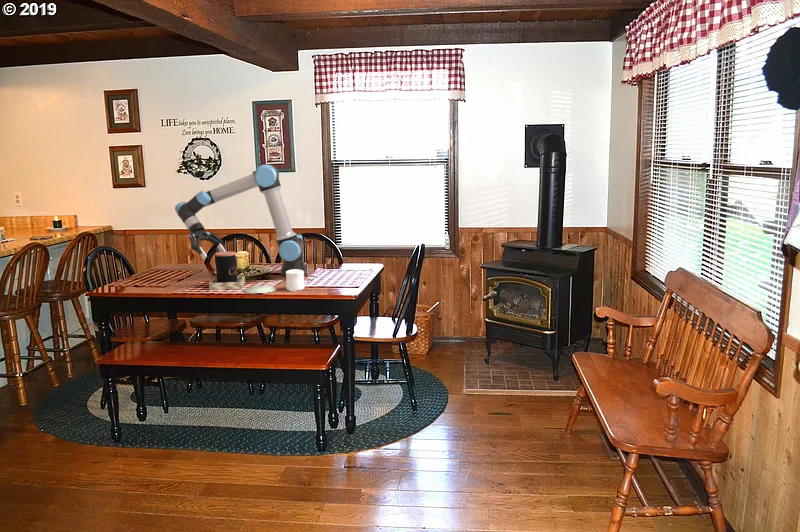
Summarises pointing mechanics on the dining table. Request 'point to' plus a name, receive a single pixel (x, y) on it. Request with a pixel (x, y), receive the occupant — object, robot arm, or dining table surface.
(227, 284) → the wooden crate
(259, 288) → the sage mat
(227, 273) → the coffee jar
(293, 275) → the cup
